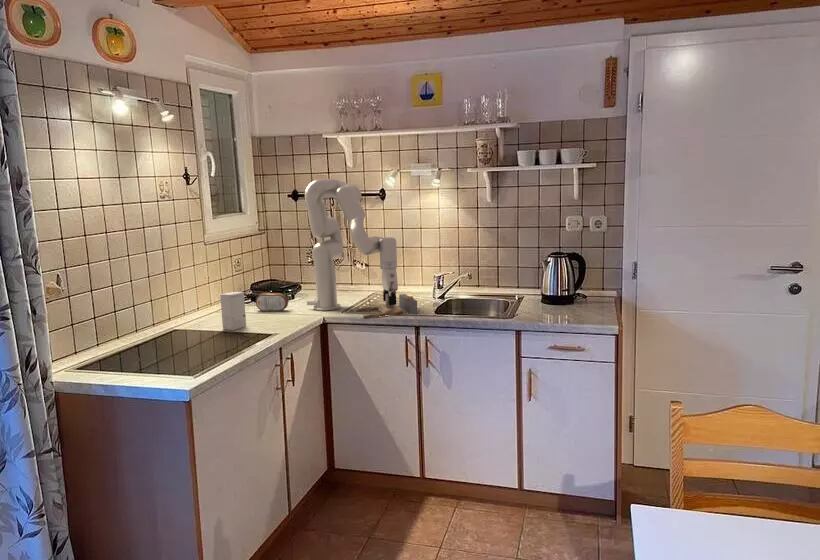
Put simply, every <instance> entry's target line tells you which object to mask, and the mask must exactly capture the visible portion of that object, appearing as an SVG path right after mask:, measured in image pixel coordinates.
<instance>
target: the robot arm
mask: <svg viewBox="0 0 820 560" xmlns="http://www.w3.org/2000/svg"><path fill="white" fill-rule="evenodd" d="M326 198H327V199H328V198H333V199H334V198H335V200H336V202H337V204H338V206H339V207H340V209H341V211H342V213H343V214H344V216H345V218H346V219H347V222H348V224H349V233H350V237H351V240H352V242H353V243H354V246H355V247H356V249H357V250H358V251H359V252H360V253H361V254H362V255H364V256H370V255H374V254H378V253H379V263H380V264H379V269H380V270H381V283H382V284H381V285H382V288H383V289H382V292H383V293H382V296H383V298H382V300H383V302H386V294H389V295H390V296H389V305H397V291H398V290H399V287H398V275H397V274H398V273H397V269H398V252H397V251H398V250H397V240H396V238H395V237H393V236H392V237H391V236H388V237H387V236H386V237H382V236H381V237H380V236H369V235H368V234H367V231H366V229H365V227H364V221H365V219H366V212H365V210H364V208H363V206H362V205H361V203H360V202H361V199H362V192H361V189H359V187H357V186H355V185H354V184H351V183H346V182H344V181H341V180H339V179H334V178H319V179H315V180H313V181H311V182H310V183H309V184H308V185H307V186H306V188H305V191H304V200H305V205H306V209H307V214H308V220H309V227H310V231H311V234H312V236H313V237H314V238H316V239H323V240H322V241H319V242H317V243H316V244H314V246H313V247H312V250H311V255H312V260H313V264H314V265H313V266H314V276H315V278H314V279H315V294H316V296H315V298H314V299H313V300H307V301H306V305H307V306H313V309H314V310H315V311H323V312H325V311H335V310H338V309H340V308H341V304H340V303H338V294H337V293H338V292H337V276H336V275H337V274H336V267H335V263H334V260H338V259H339V258H340V257H341V256H342V255H343V253H344V243H343V238H342V232H341V231H342V230H341V228H340V224H339V222H338V220H337V219H335V218H334V217H333V216H328V212H327V208H326V205H325V203H324V201H323V199H326Z"/></svg>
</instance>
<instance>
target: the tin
mask: <svg viewBox="0 0 820 560" xmlns="http://www.w3.org/2000/svg"><path fill="white" fill-rule="evenodd" d="M255 305H256V307H257V309H259V310H260V311H261V312H282V311H283V310H285V309H286V308H287V307H288V306H289V300H288V297H287V295H285V294H284V293H281V292H262V293H260V294H259V295H258V296H257V297H256V299H255Z"/></svg>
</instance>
